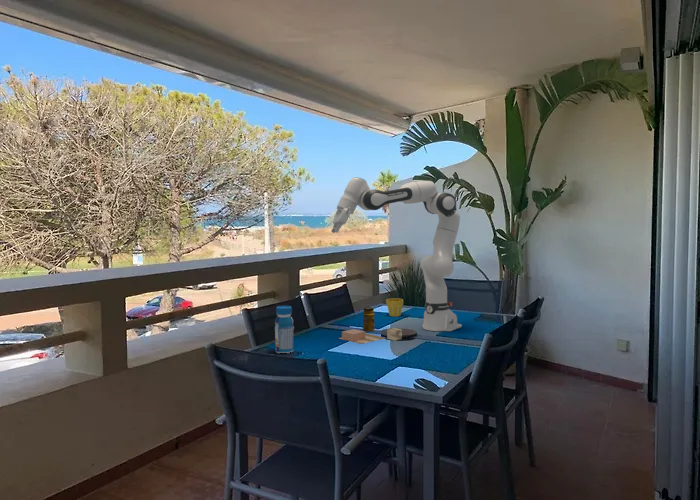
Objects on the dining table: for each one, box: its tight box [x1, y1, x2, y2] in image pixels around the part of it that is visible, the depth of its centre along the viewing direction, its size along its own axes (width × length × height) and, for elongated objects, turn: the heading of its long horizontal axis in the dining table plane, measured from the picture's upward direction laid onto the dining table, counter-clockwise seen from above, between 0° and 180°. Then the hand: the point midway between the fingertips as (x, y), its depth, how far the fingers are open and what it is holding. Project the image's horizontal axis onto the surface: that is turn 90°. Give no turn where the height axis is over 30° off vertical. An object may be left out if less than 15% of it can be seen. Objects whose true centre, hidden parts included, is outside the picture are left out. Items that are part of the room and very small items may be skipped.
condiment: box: [362, 306, 378, 332], centre depth 257 cm, size 7×8×12 cm
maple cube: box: [386, 327, 403, 341], centre depth 237 cm, size 5×5×5 cm
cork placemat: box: [339, 332, 386, 345], centre depth 240 cm, size 17×16×1 cm
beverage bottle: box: [274, 305, 295, 354], centre depth 217 cm, size 8×8×20 cm
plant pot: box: [385, 298, 404, 317], centre depth 298 cm, size 10×10×10 cm
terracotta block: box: [341, 328, 366, 342], centre depth 238 cm, size 8×8×4 cm
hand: (334, 232), depth 243 cm, fingers open, 8 cm apart
